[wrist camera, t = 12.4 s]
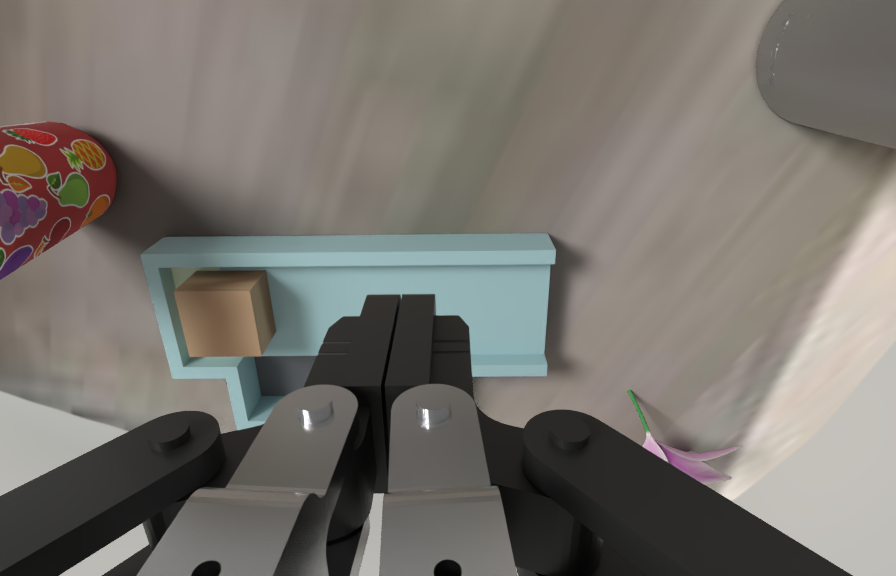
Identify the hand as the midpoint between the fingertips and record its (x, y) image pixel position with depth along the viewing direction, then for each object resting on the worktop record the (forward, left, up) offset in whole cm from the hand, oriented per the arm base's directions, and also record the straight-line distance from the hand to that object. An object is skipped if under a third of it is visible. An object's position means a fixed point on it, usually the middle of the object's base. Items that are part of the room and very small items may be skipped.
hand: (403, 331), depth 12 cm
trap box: (+6, +15, -27) cm, 31 cm away
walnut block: (+15, +11, -25) cm, 31 cm away
